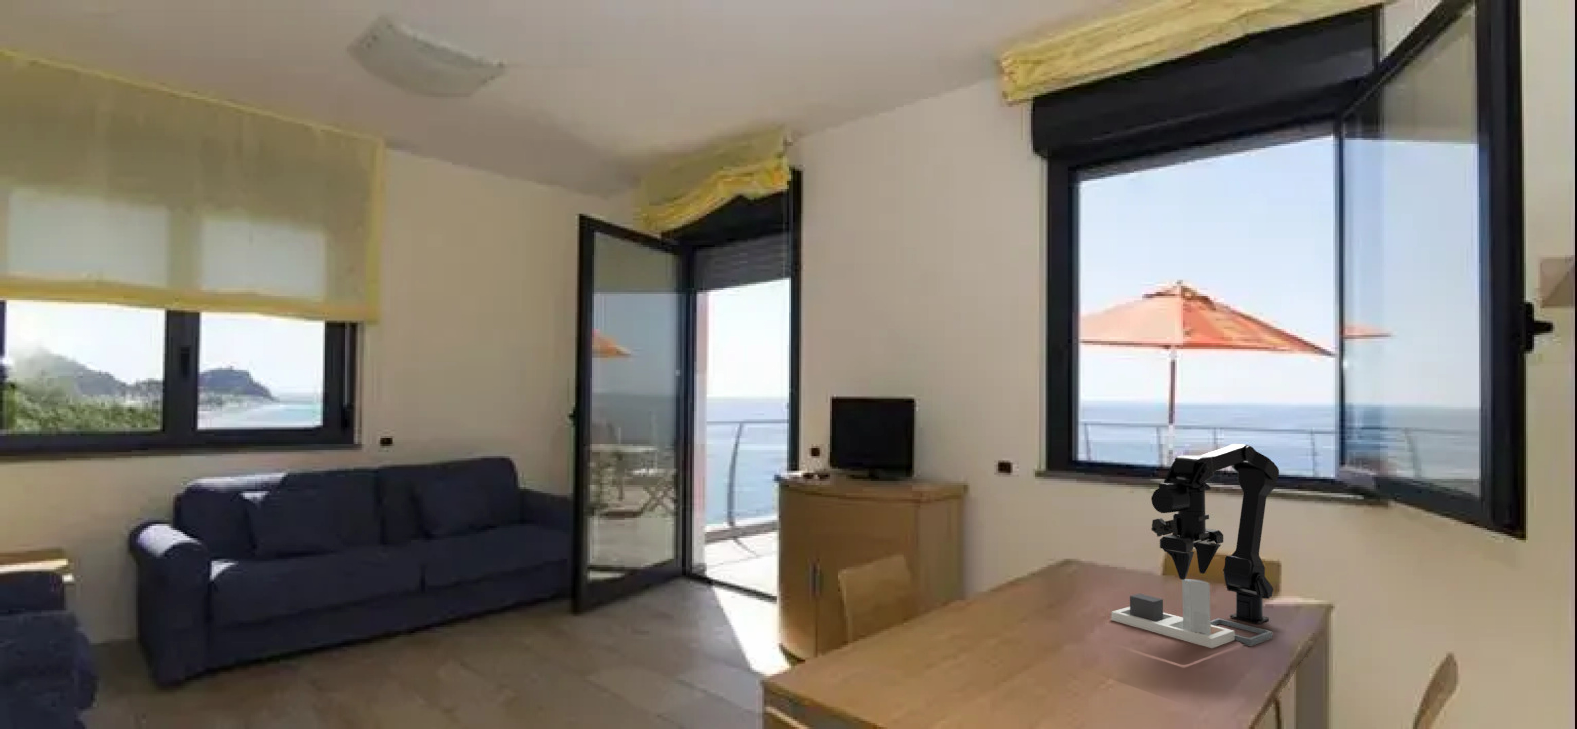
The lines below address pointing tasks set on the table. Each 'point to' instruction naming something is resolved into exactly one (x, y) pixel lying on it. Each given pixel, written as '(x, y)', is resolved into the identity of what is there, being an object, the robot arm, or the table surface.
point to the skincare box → (1196, 606)
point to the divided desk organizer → (1175, 628)
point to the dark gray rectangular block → (1146, 607)
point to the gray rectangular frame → (1247, 641)
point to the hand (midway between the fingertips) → (1192, 576)
